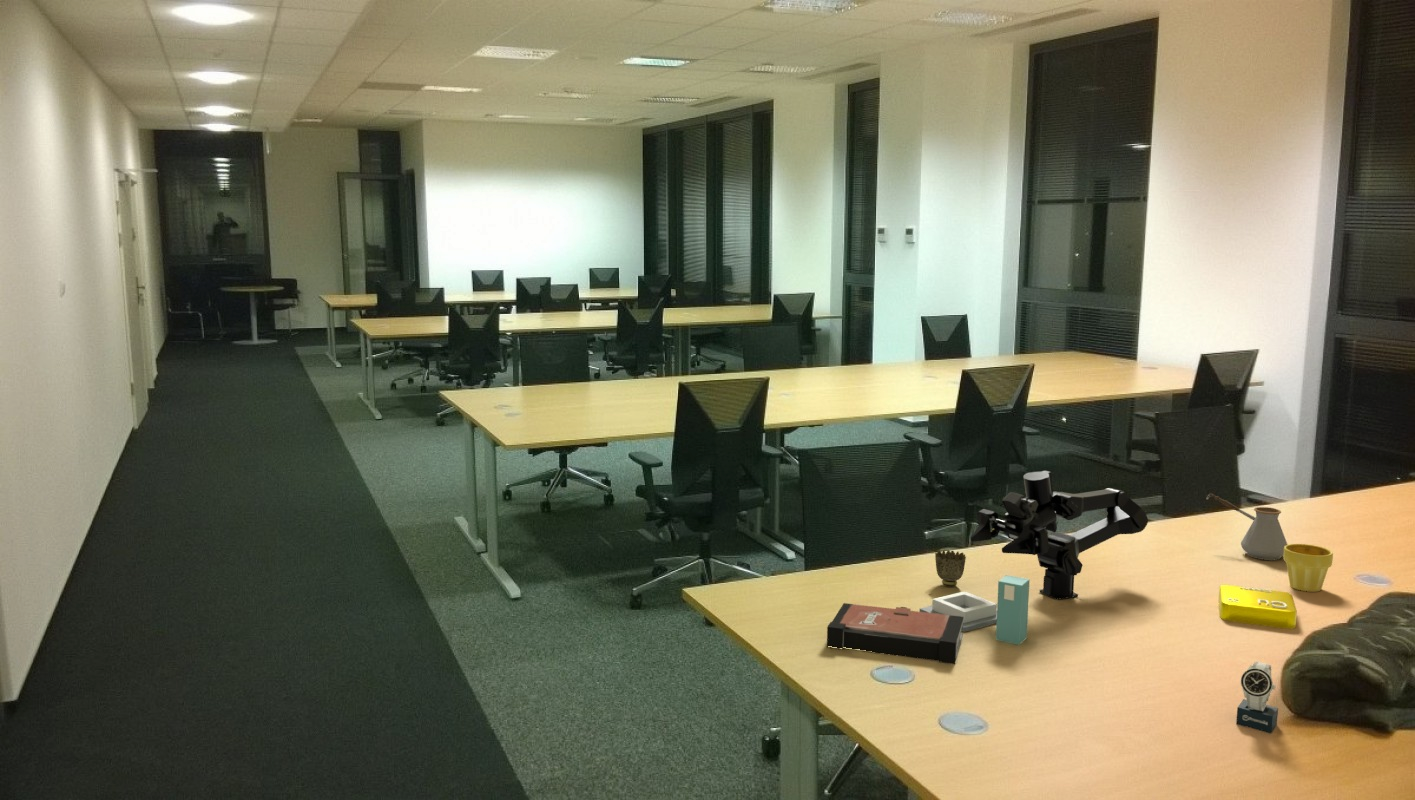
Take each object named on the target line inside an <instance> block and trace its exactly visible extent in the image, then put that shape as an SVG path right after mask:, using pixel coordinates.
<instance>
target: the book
mask: <svg viewBox="0 0 1415 800" xmlns="http://www.w3.org/2000/svg"><path fill="white" fill-rule="evenodd" d="M963 621H964V617H961V616H952V615H944V614H935V613H926V612H919V611H916V610H911V608H908V607H905V606H900V607H899V606H896V607H895V608H889V607H880V606H873V605H865V604H856V603H855V604H854V603H846V602H844V603H842V606H841V607H840V608H839V610H838V612H837V613H836V615H835V616H834V618H833V619H832V621H830V622H829V623H828V625H827V628H826V632H827V635H826V647H827V646H832V647H837V648H843V647H846V648H852V649H860V650H866V651H872V652H875V653H874V654H880V653H884V654H883V655H888V654H890V656H896V655H898V657H905V658H913V659H921V660H928V661H934V662H935V661H936V662H937V661H938V663H944V664H951V665H956V662H957V658H958V655H959V651H960V649H961V644H962V641H963V637H964V633H962V631H961V628H962V624H963ZM872 652H871V653H872Z"/></svg>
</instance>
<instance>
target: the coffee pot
mask: <svg viewBox="0 0 1415 800" xmlns="http://www.w3.org/2000/svg"><path fill="white" fill-rule="evenodd" d="M1210 497H1211V498H1213V499H1215V501H1218V502H1219V503H1221V504H1222V505H1224V506H1226V507H1228V508H1230V509H1232V510H1234V511H1236V512H1238V513H1240V514H1241V515H1243V516H1245V517H1246V518H1249V519H1250V520H1252V523H1251V524H1250V526H1249V528H1248V529H1247V531H1246V533H1245V534H1244V536H1243V538H1242V540H1241V542H1240V545H1241V548H1242V550H1243V551H1244V552H1246V553H1247V555H1248V556H1249V557H1251V558H1253V557H1254V559H1257V558H1258V559H1257V560H1263V559H1264V561H1278V560H1281V557H1284V547H1285V546H1286V545H1289V544H1288V542H1287V539H1286V537H1285V534H1284V532H1283V529H1282V526H1281V524H1280V522H1279V519H1278V518H1279V515H1281V513H1282V511H1281V510H1280V509H1277V508H1275V507H1274V508H1273V507H1268V506H1267V507H1266V506H1259V507H1258V506H1257V507H1254V509H1253V511H1255V516H1254V515H1251V514H1250V513H1248V512H1246V511H1244V510H1242V509H1240V508H1239V507H1237V506H1236V505H1234V504H1233V503H1231V502H1229V501H1228V500H1226V499H1223V498H1221V497H1219V496H1218V495H1217V496H1216V495H1215V494H1214V493H1211V492H1209V494H1208V495H1207V496H1206V499H1205V500H1209V498H1210ZM1277 559H1278V560H1277Z"/></svg>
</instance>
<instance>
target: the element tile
mask: <svg viewBox="0 0 1415 800" xmlns="http://www.w3.org/2000/svg"><path fill="white" fill-rule="evenodd" d="M1217 601H1218V603H1219V604H1218V603H1217V604H1218V613H1219V618H1220V619H1221V620H1223V621H1227V622H1234V623H1242V624H1249V625H1257V626H1263V627H1264V626H1265V627H1271V628H1272V627H1273V628H1278V629H1286V630H1288V629H1289V630H1292V629H1295V628H1296V626H1297V617H1298V616H1297V613H1298V612H1297V607H1296V604H1295V599H1294V598H1293V595H1292V594H1291V593H1290V592H1287V591H1281V590H1273V589H1272V590H1271V589H1266V588H1265V589H1264V588H1258V587H1257V588H1255V587H1254V588H1253V587H1247V586H1239V585H1233V584H1232V585H1230V584H1222V585H1220V586H1219V590H1218V600H1217Z"/></svg>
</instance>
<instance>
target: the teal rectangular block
mask: <svg viewBox="0 0 1415 800" xmlns="http://www.w3.org/2000/svg"><path fill="white" fill-rule="evenodd" d="M1029 595H1030V579H1029V578H1025V577H1021V576H1016V575H1015V576H1014V575H1009V574H1006V575H1005V576H1003V577H1002V578H1001V579H999V580H998V584H997V603H996V604H997V623H996V627H995V628H996V629H995V631H996V632H995V640H996V641H1000V642H1005V643H1009V644H1012V645H1013V644H1014V645H1017V646H1020V645H1021V644H1022V643H1023V642H1024V641H1025V640H1026V639H1027V638H1028V620H1029V619H1028V617H1029V599H1030V598H1029V597H1030V596H1029Z"/></svg>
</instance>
